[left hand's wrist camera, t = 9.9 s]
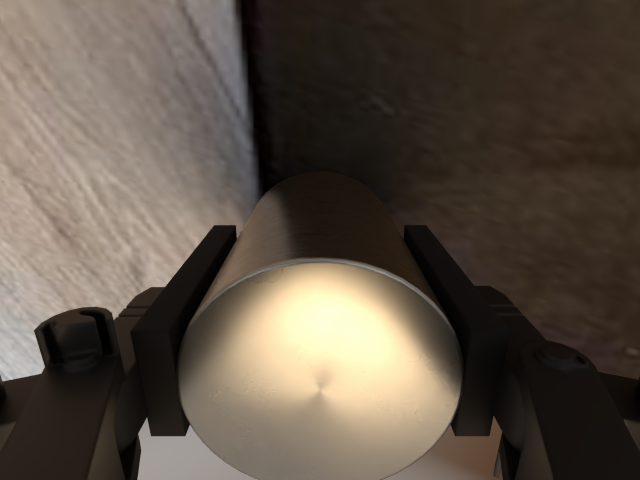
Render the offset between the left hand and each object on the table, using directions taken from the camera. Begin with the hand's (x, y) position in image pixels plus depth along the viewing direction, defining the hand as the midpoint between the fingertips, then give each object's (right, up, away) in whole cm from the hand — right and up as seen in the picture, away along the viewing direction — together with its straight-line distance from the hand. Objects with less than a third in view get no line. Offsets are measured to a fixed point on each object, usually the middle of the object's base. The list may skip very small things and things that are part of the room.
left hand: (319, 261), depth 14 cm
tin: (0, +1, +2) cm, 2 cm away
